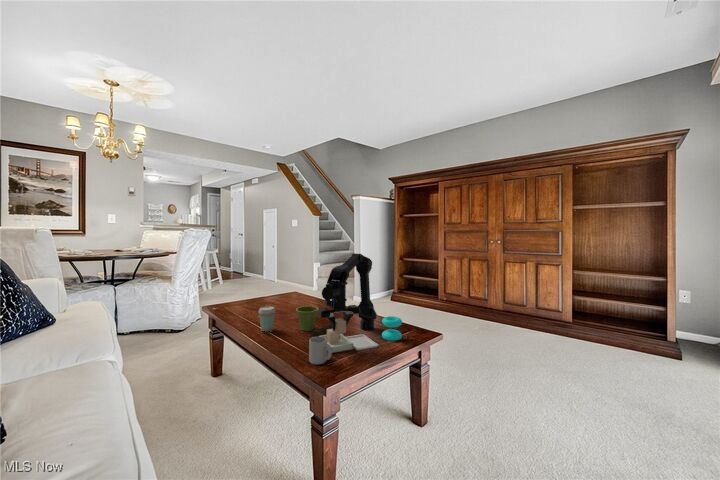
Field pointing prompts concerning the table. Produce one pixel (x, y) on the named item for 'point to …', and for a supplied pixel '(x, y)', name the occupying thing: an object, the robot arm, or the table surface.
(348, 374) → the table surface
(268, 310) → the coffee cup
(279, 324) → the table surface
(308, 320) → the plant pot
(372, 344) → the tray
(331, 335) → the tan rectangular block
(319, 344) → the cup
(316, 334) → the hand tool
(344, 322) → the tan rectangular block
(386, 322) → the donuts
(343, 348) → the bin
